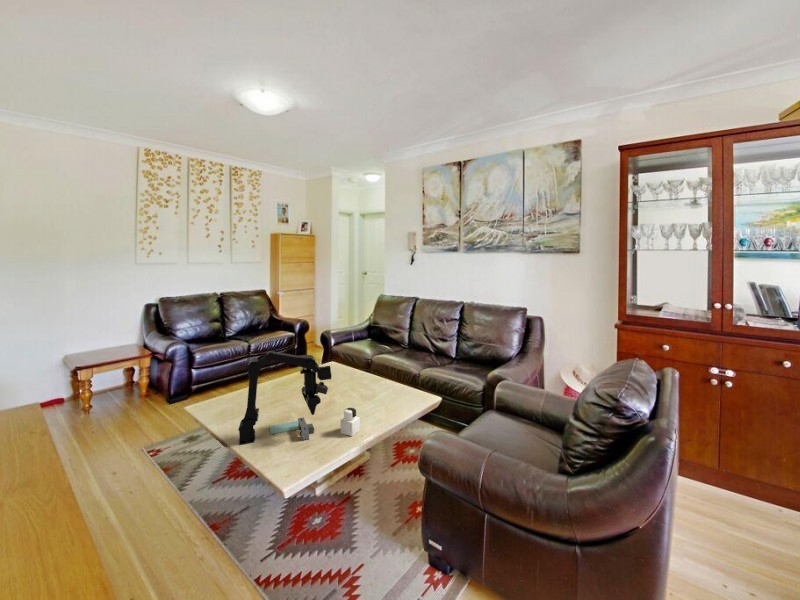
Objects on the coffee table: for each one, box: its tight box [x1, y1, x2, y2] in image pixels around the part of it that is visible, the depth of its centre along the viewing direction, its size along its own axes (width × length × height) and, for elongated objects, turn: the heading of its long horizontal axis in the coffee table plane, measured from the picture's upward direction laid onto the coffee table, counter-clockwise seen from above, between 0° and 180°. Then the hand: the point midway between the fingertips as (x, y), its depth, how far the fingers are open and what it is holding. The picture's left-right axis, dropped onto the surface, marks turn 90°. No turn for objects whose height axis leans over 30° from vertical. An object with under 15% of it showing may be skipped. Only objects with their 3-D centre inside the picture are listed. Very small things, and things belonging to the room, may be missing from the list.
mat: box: [268, 420, 299, 435], centre depth 189 cm, size 14×9×1 cm, turn 114°
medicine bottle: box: [340, 407, 361, 437], centre depth 184 cm, size 7×7×12 cm
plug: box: [295, 423, 316, 437], centre depth 183 cm, size 9×4×4 cm, turn 115°
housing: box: [297, 417, 310, 441], centre depth 182 cm, size 3×15×5 cm, turn 24°
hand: (311, 411), depth 183 cm, fingers open, 9 cm apart
